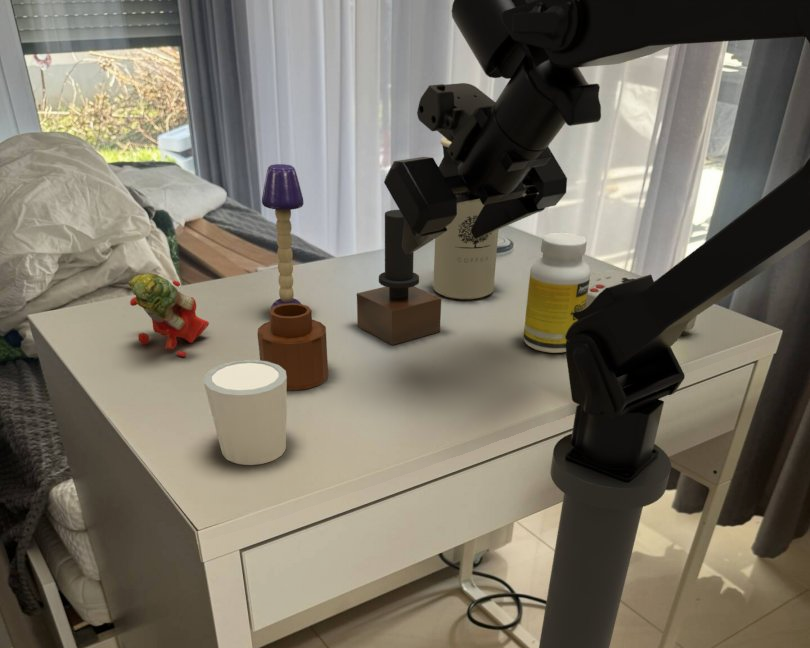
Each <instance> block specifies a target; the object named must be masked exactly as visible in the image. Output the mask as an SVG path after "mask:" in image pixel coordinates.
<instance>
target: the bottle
mask: <svg viewBox="0 0 810 648" xmlns="http://www.w3.org/2000/svg"><path fill="white" fill-rule="evenodd" d="M271 307H272V306H271ZM271 307H270V309H269V312H268V313H269V321H267V322H265V323H263V324H261V325H260V326H259V327H258V328H257V342H258V343H257V344H258V351H259V361H268V362H271V363H274V364H277V365H279V366H280V367H282V368H283V369H284V370H285V371H286V376H287V391H302V390H308V389H312V388H315V387H318V386H320V385H322V384H323V383H324V382H325V381H327V379H328V377H329V364H328V362H329V361H328V345H327V343H328V342H327V327H326V325H325V324H323V323H322V322H321V321H318V320H315V319H313V316H312V315H313V314H312V309H311V307H310V306H308V305H306V304H303V303H301V304H296V303H288V304H280V305H277V306H275V307H272V308H271Z"/></svg>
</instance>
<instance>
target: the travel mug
mask: <svg viewBox="0 0 810 648" xmlns="http://www.w3.org/2000/svg"><path fill="white" fill-rule="evenodd" d="M450 144H451V142H450V141H449V140H448V139H446V138H445V137H444V136H443V137H442V138H441V139H440V145H442V154H443V157H442V159H441V161H440V163H439V165H438V167H439V169H440V171H441V172H442V174H443V176H444V177H450V176H456V175H459V172H458V166H459V163H458V161H453V160H452V158H451V157H450V155H449V153H448V151H447V149H448V147H449V146H450ZM483 206H484V205H483V204H482V203H481V201H477V202H471V203H466V204H461V205H457V215H456V217H455V218H454V220H453V221H452V223H450V224H449V225H447V226H446V228H447V231H446V232H445V233H443V234H441V235H440V236H438V237H437V238H435V239H434V255H433V256H434V259H433V283H432V284H433V287H432V288H433V290H434V291H435V293H437V294H439V295H441V296H443V297H446V298H448V299H453V300H461V301H462V300H468V301H469V300H477V299H481V298H485V297H487V296H488V295H491V294H492V293H493V292H494V289H495V276H496V265H497V264H496V263H497V253H498V252H497V251H498V241H499V230H500V229H498V230H496V231H494V232H491V233H489V234H487V235H485V236H483V237H480V238H478V239H475V238H474V237H473V235H472V233H471V229H472V227H473V224H474V222H475V220H476V218H477V217H478V215H479V213H480V212H481V210H482V208H483Z"/></svg>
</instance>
